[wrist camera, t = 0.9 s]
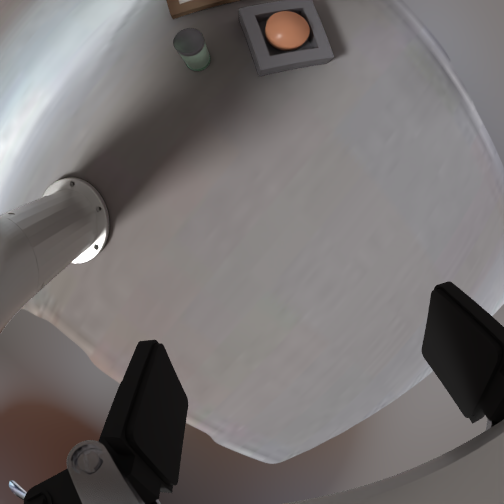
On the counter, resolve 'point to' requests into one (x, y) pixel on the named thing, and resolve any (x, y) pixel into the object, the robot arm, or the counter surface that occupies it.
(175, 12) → the drawing board
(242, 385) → the counter surface
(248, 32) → the button housing
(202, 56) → the sage green marker
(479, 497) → the robot arm
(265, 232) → the counter surface
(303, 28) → the button
